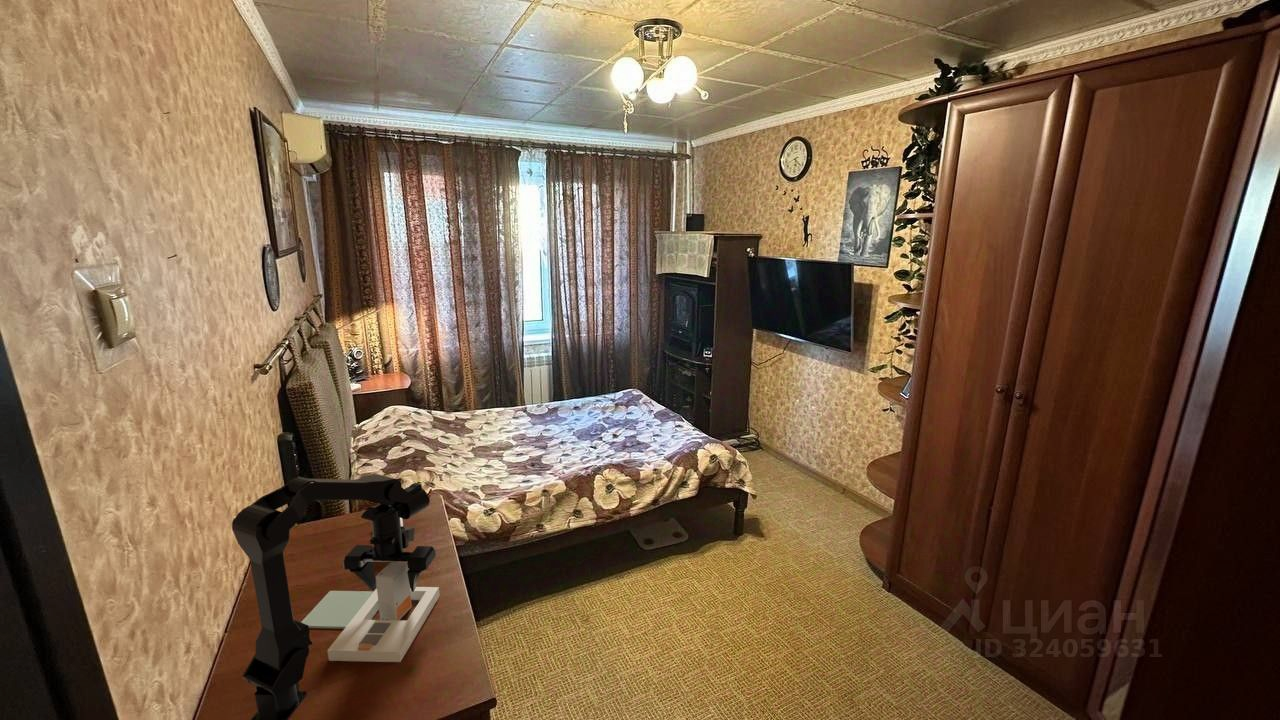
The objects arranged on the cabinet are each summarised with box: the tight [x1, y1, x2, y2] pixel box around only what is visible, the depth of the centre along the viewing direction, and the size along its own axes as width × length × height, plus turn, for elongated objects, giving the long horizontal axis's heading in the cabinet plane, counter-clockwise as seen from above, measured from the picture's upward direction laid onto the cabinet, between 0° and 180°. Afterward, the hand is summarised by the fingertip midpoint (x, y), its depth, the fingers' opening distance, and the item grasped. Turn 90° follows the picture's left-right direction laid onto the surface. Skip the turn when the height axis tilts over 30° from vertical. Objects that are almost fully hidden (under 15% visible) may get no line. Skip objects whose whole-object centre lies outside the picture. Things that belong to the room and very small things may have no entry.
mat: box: [300, 590, 375, 630], centre depth 122 cm, size 12×12×1 cm
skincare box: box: [375, 561, 413, 620], centre depth 120 cm, size 6×4×12 cm
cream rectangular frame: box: [327, 586, 440, 663], centre depth 117 cm, size 20×15×3 cm
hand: (393, 590), depth 119 cm, fingers open, 9 cm apart
